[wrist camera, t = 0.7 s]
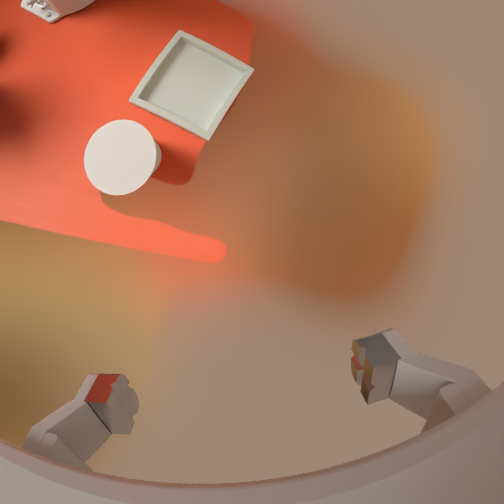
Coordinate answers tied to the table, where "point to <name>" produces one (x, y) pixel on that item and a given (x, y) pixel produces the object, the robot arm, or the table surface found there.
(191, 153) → the table surface
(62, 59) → the table surface
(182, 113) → the tray
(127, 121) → the cylindrical container
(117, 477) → the robot arm
